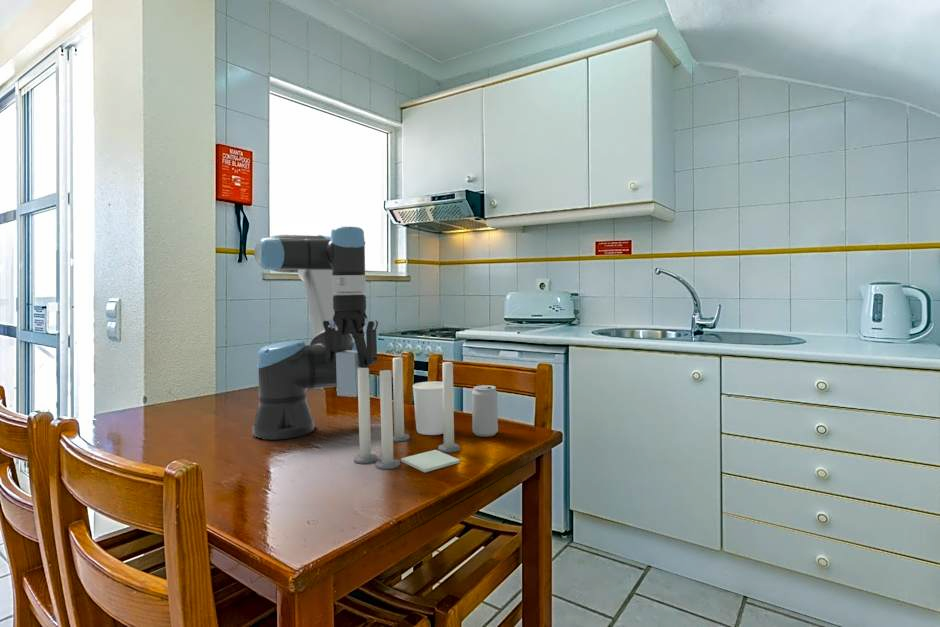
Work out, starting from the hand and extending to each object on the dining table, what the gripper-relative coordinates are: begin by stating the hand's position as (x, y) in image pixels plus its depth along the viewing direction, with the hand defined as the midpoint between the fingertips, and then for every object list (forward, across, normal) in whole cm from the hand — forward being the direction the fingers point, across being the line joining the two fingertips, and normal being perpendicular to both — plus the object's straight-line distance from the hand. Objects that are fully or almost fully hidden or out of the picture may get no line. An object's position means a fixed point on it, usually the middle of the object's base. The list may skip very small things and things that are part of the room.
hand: (352, 392), depth 122 cm
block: (0, 0, 0) cm, 0 cm away
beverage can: (+13, +27, +18) cm, 35 cm away
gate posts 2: (+13, +18, -3) cm, 23 cm away
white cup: (+13, +13, +17) cm, 25 cm away
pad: (+13, +22, -5) cm, 26 cm away
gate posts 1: (+13, +8, 0) cm, 15 cm away
